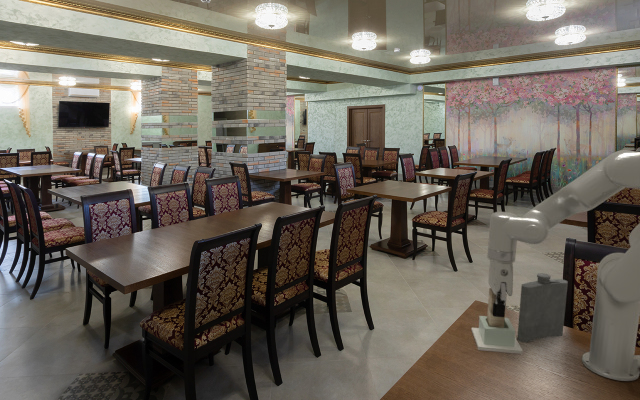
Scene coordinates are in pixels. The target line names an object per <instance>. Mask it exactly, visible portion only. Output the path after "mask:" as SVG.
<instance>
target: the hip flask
mask: <svg viewBox="0 0 640 400" xmlns="http://www.w3.org/2000/svg"><path fill="white" fill-rule="evenodd" d="M536 278H537V280H536V281H535V280H534V281H530V282H525V283H522V284H521V287H520V300H519V301H520V303H519V314H518V315H519V316H518V324H517V325H518V326H517V337H516V339H517V341H519V342H522V343H529V342H532V341H535V340H540V339H546V338H553V337H554V338H556V337H562V336H563V335H564V325H565V315H566V314H565V313H566V304H567V294H568V293H567V292H568V284H569V283H568V282H569V281H568V280H565V279H561V278H559V279H558V278H557V279H554V278H553V279H552V278H551V275H550V274H547V273H543V272H541V273H537V274H536Z"/></svg>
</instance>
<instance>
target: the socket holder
mask: <svg viewBox="0 0 640 400" xmlns="http://www.w3.org/2000/svg"><path fill="white" fill-rule="evenodd" d="M478 318H479V320H478V327H471V333H472V335H473V340H474V342H475V345H476V348H477V350H478V351H485V352H495V353H496V352H497V353H507V354H516V355H517V354H518V355H519V354H520V355H523V352H524V351H523V349H522V347H521V345H520V343H519V342H518V341H519V340H518V339H517V337H516V329H515V327H514V326H513V324H512V322H511V320H510V318H509V317H505V321H504V328H499V327H489V326H488V324H487V316H485V315H479V316H478Z"/></svg>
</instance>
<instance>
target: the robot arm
mask: <svg viewBox="0 0 640 400" xmlns="http://www.w3.org/2000/svg"><path fill="white" fill-rule="evenodd" d="M625 188H627V189H640V151H635V150H630V149H621V150H617V151H615V152H613V153H611V154H608V155H607V156H606V157H605V158H603V159H602V160H601V161H599V162H598V163H597V164H595V165H593V166H592V167H590V169H587V171H585V172H584V173H582V174H581V175H579V176H578V177H576V178H574V180H572V181H570V182H569V183H568V184H567V185H565V186H563V187H561V189H559V190H558V191H556V192H554V193H553V194H552V195H550V196H549V197H547V198H546V199H544V200H543V201H542V202H539V204H537V205H535V206H534V207H533V208H531V209H530V210H529V211H528V212H525V214H524V215H523V216H520V217H518V215H517V214H515V213H513V212H509V211H495V212H492V214H491V215H490V218H489V229H488V245H487V256H486V258H487V260H489V267H488V280H487V281H488V286H489V288H491V289H492V291H493V293H494V294H495V303H493V316H494V317H504V316H505V317H506V309H505V304H506V305H507V298H506V294H507V295H508V296H509V297H512V296H513V288H514V286H513V285H514V265H513V264H514V263H515V262H516V257H517V254H516V253H517V244H518V241H519V242H521V243H526V244H531V245H537V244H541V243H543V242H545V241H546V239H548V237H549V232H550V230H551V229H552V228H554V227H555V226H557V225H558V224H560V223H561V222H563V221H564V220H565V219H566V220H567V219H568V218H570V217H573V216H575V215H577V214H580V213H586V212H588V211H592V210H593V209H595V208H596V207H598V206H599V205H601V204H602V203H605V201H607V200H608V199H610V198H612V197H613V196H614V195H616V194H617V193H619V192H621V191H622V190H624V189H625ZM628 244H629V246H630V247H629V248H628V250H626V252H625V253H624V252H613V253H609V254H607V255H605V256H603V258H602V259H601V260H600V262H599V264H598V266H597V274H596V293H595V301H594V303H595V304H594V311H593V318H592V327H591V337H590V344H589V345H590V346H589V351H587V352H584V353H583V354H582V356H581V362H582V364H583V365H584V366H585V368H587V369H589V371H591V372H592V373H594V374H596V375H599V376H601V377H604V378H607V379H609V380H610V379H611V380H615V381H621V382H631V381H635V380H638V379H639V376H640V355H638V354H637V355H635V351H636V344H637V337H638V336H637V335H638V329H639V322H640V222H639V223H638V224H637V225H636V226H635V227H634V228H633V229H632V231H631V232H630V233H629V236H628ZM497 292H500V293H497ZM498 296H501V297H500V298H498Z"/></svg>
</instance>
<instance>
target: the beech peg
mask: <svg viewBox="0 0 640 400" xmlns="http://www.w3.org/2000/svg"><path fill="white" fill-rule="evenodd" d="M497 293H500V292H497ZM507 295H508V294H507V293H506V299H507ZM500 297H501V296H498V298H500ZM493 303H495V294H494V293H493V291H492V289H491V287H489V290H488V303H487V324H488V326H489V327H499V328H504V321H505V318H506V315H505V316H504V317H494V316H493ZM506 308H507V303H506V304H505V310H506Z"/></svg>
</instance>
